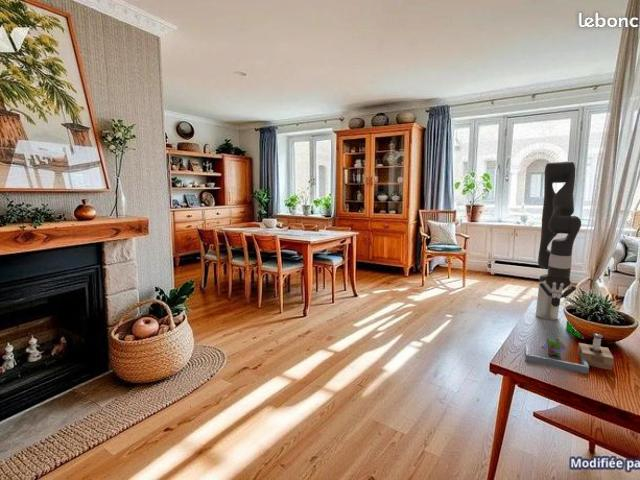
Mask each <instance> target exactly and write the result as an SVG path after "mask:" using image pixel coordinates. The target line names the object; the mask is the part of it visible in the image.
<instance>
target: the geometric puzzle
mask: <svg viewBox="0 0 640 480" xmlns="http://www.w3.org/2000/svg"><path fill="white" fill-rule="evenodd" d="M553 339H555V340H553ZM553 339H550V338H546V340H545V341H544V343H543V344H542V346H541V348H542V349H543V351H546V352H547V353H548V354H547V355H548V356H549V357H548V358H551V357H552V355H553V356H554V357H561V355H562V353H564V351H565V349H566V348H567V347H566V346H565V344H564V342H563V341H562V340H560V339H559V338H555V337H554V338H553Z"/></svg>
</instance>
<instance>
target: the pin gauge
mask: <svg viewBox="0 0 640 480" xmlns="http://www.w3.org/2000/svg"><path fill="white" fill-rule="evenodd" d="M593 336H594V339H592V345H593V346H592V352H597V353H599V351H600V347H601V344H602V339H601V338H603V335H601V334H597V333H594V334H593Z"/></svg>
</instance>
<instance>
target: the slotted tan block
mask: <svg viewBox="0 0 640 480" xmlns="http://www.w3.org/2000/svg"><path fill="white" fill-rule="evenodd" d="M592 346H593V344H587V343H582V342H578V346H577V347H578V348H577V352H576V353H577V356H578V359H579V360H580V354H581V359H582V358H585V359H586V361H587V364H588V366H589V367H594V368H599V369H602V370H609V371H612V370H613V367H614V361H615V360H614V359H615V358H614V355H612V353H611V351H610V350H609V347H605V346H604V347H603V346H600V351H599V353H597V352H592ZM581 362H582V361H581ZM581 362H580V363H581Z"/></svg>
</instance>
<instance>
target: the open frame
mask: <svg viewBox="0 0 640 480" xmlns="http://www.w3.org/2000/svg"><path fill="white" fill-rule="evenodd" d="M529 348H530V347H529V343H524V359H525V360H524V361H525V362H529V363H533V364H539V365H543V366H548V367H553V368H558V369H561V370H568V371H572V372H578V373H581V374H586V375H588V374H589V369H590V366H588V364H587V361H586V359H585V358H582V359H581V354H580V359H579V362H580V364H579V363H576V362H569V361H566V360H560V359H554V358H551V357H544V356H539V355H534V354H530V350H529ZM581 361H582V362H581Z"/></svg>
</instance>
